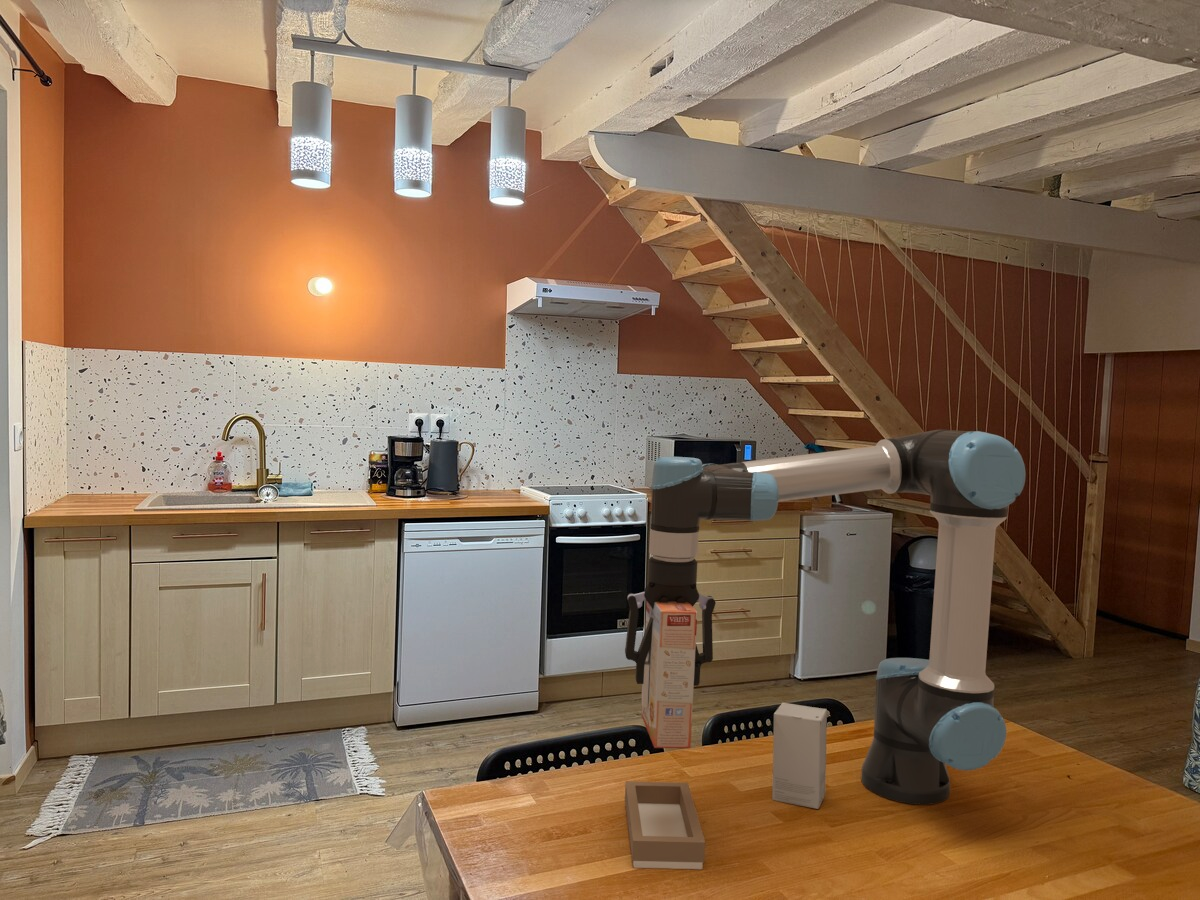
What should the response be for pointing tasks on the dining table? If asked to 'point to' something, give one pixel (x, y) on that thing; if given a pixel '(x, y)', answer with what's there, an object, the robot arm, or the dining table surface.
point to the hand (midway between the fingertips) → (666, 704)
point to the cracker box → (671, 674)
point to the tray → (663, 826)
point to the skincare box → (799, 755)
